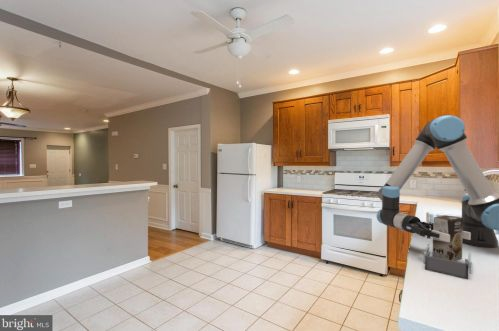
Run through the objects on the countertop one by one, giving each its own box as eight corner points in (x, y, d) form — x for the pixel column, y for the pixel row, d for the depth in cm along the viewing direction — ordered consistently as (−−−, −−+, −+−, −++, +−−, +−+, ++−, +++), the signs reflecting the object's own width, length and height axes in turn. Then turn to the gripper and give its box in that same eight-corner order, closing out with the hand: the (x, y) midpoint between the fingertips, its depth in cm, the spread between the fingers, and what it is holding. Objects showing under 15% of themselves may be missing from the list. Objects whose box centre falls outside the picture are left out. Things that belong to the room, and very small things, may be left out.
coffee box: (450, 263, 95) (451, 220, 94) (431, 257, 101) (432, 216, 100) (463, 259, 99) (464, 217, 99) (444, 253, 105) (445, 214, 104)
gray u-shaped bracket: (427, 253, 110) (427, 241, 110) (470, 261, 101) (470, 249, 101) (421, 268, 95) (422, 255, 95) (471, 280, 86) (472, 265, 86)
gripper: (426, 229, 120) (480, 244, 99) (387, 233, 114) (436, 250, 92) (426, 213, 120) (481, 225, 98) (387, 216, 114) (437, 229, 92)
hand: (459, 237), depth 95 cm, fingers closed on coffee box, 10 cm apart
